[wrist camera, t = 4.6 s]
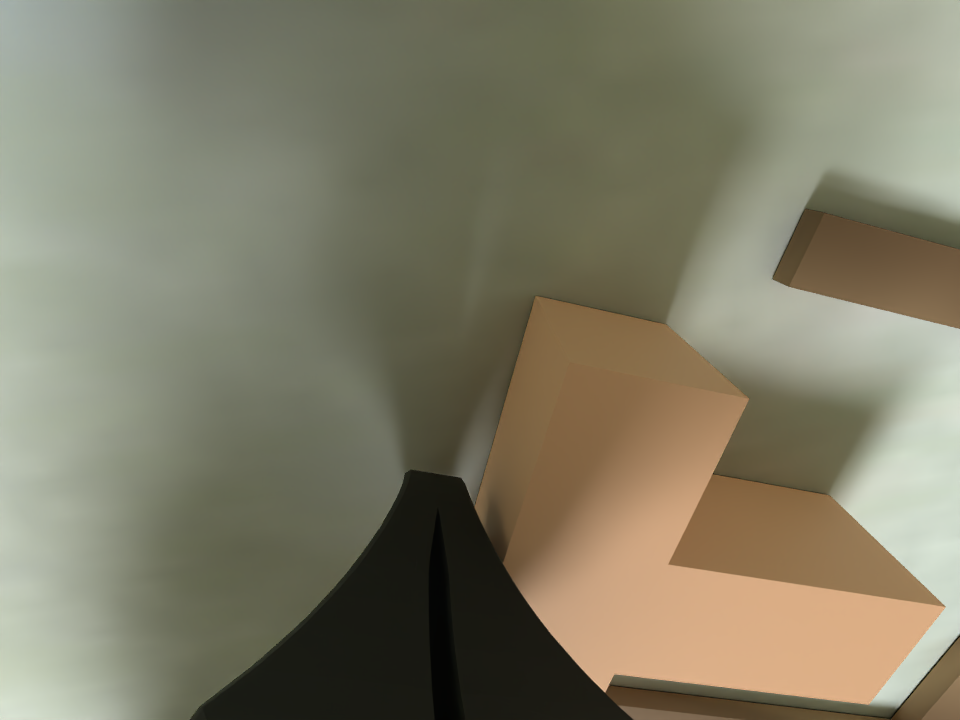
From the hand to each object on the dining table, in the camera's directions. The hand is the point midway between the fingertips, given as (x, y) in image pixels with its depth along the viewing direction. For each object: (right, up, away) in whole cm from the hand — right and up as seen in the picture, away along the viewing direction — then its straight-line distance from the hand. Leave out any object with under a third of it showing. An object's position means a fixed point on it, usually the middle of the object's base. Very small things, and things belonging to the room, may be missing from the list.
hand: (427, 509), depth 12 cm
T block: (+6, -1, +2) cm, 6 cm away
